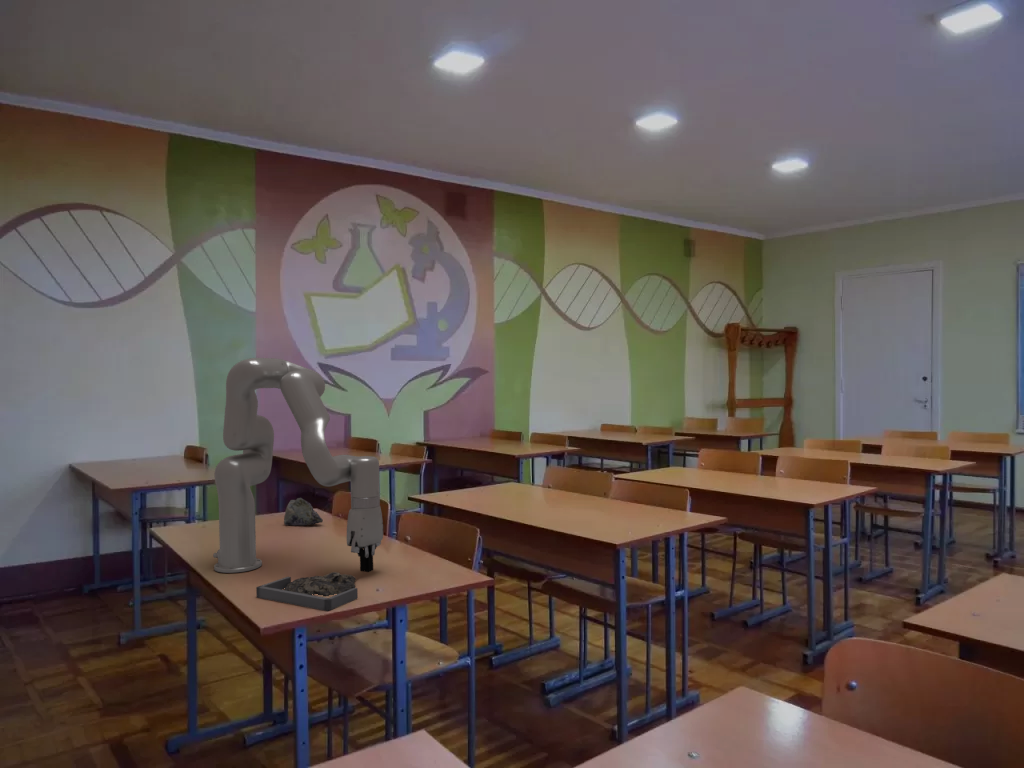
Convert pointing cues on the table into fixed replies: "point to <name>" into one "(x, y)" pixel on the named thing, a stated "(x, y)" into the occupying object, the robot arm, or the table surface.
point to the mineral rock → (301, 513)
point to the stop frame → (303, 596)
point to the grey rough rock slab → (323, 584)
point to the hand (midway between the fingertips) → (366, 570)
